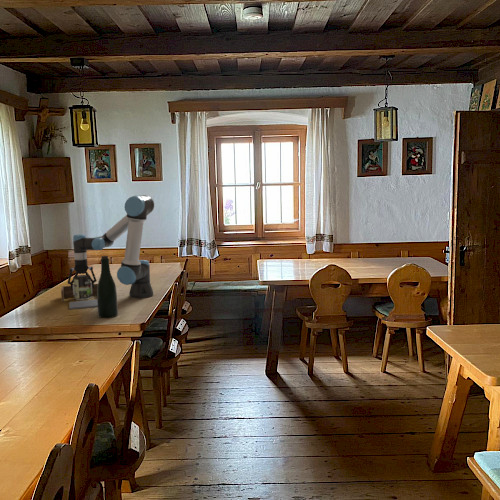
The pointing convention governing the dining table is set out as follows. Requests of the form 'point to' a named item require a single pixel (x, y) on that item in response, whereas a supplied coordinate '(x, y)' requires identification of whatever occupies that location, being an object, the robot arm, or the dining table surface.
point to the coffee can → (82, 287)
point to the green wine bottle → (106, 292)
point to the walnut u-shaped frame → (68, 292)
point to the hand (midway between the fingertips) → (82, 293)
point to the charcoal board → (83, 304)
